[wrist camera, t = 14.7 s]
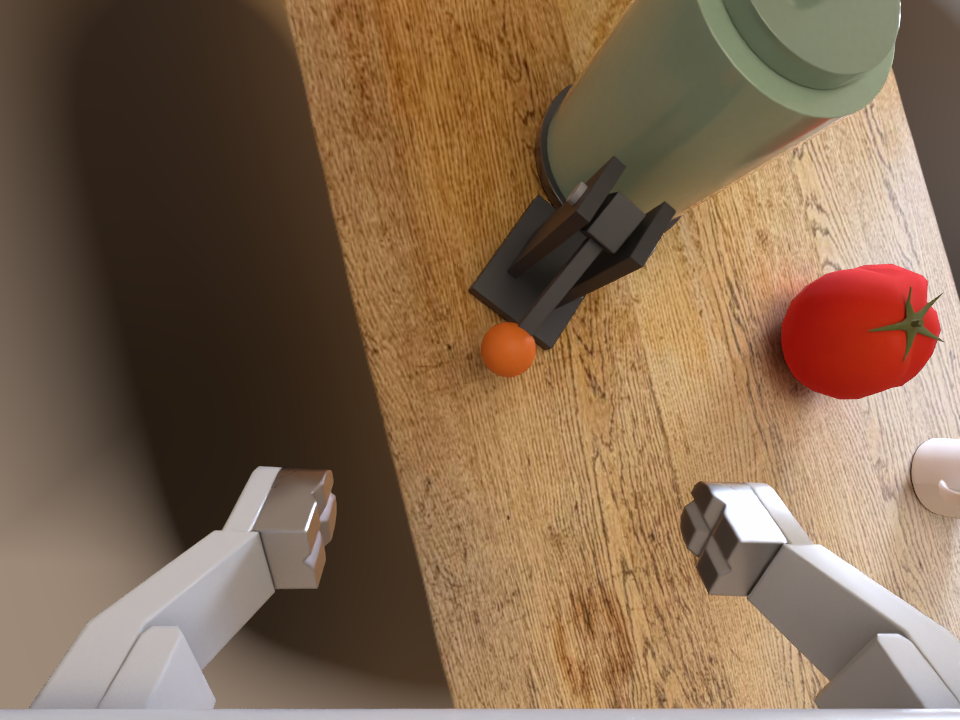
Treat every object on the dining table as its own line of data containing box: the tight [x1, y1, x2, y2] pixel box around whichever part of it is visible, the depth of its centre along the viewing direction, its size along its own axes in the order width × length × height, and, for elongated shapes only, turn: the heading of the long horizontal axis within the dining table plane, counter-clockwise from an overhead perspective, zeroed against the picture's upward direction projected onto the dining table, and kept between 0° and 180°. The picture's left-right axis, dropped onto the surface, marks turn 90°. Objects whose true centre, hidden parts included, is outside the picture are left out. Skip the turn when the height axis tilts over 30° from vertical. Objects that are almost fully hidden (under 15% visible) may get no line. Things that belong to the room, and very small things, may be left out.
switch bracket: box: [469, 156, 676, 350], centre depth 32 cm, size 10×8×13 cm
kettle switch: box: [481, 191, 646, 377], centre depth 29 cm, size 13×4×4 cm, turn 146°
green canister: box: [535, 0, 900, 233], centre depth 32 cm, size 15×15×21 cm
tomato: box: [781, 264, 944, 399], centre depth 41 cm, size 11×13×10 cm
